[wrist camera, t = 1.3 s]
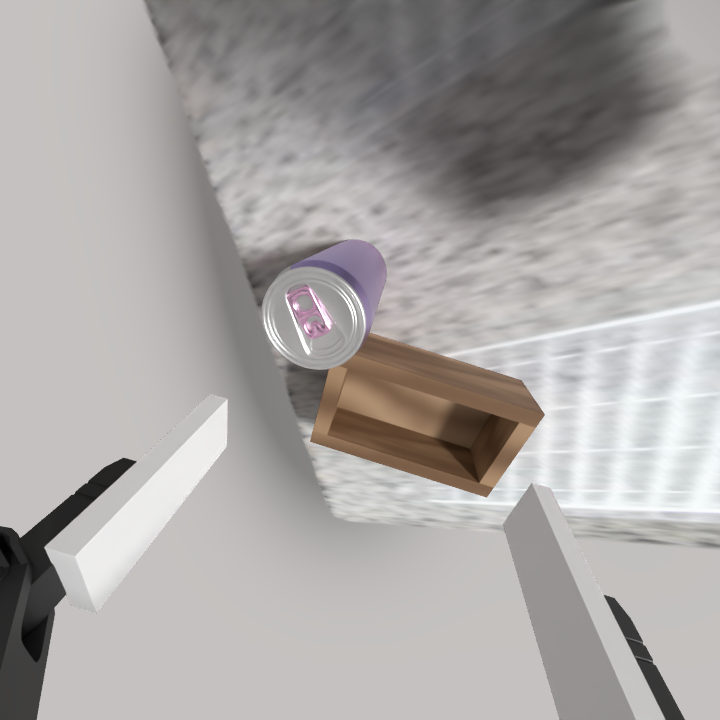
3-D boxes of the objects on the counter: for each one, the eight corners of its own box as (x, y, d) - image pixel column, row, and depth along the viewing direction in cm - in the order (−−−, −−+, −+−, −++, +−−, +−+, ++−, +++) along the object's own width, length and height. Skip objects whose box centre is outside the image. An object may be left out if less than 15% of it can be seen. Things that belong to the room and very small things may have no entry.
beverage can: (371, 227, 27) (337, 242, 14) (396, 288, 29) (387, 353, 16) (314, 255, 29) (235, 292, 16) (341, 311, 31) (292, 386, 18)
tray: (346, 325, 32) (334, 348, 26) (521, 380, 32) (544, 414, 26) (324, 408, 37) (310, 441, 31) (475, 455, 37) (486, 497, 31)
